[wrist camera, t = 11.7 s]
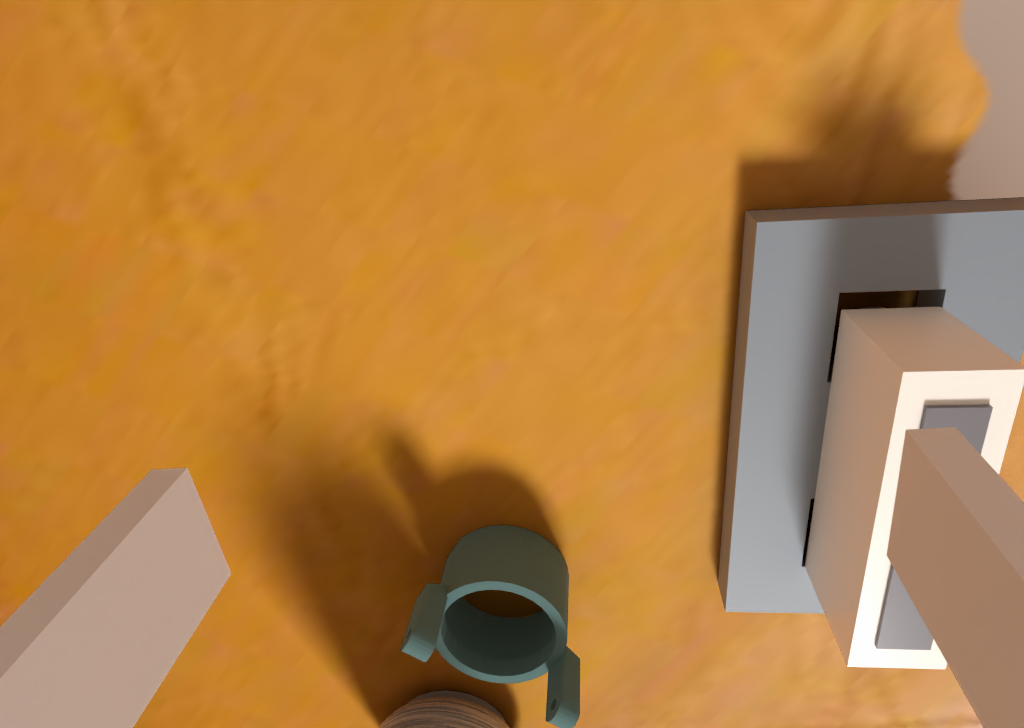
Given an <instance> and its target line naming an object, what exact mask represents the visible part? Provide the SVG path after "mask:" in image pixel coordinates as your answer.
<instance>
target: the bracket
mask: <svg viewBox="0 0 1024 728" xmlns="http://www.w3.org/2000/svg"><path fill="white" fill-rule="evenodd" d="M568 588H569V574H568V568H567V565H566V562H565V560H564V558H563V556H562V555H561V553H560V552H559V550H558V549H557V548H556V547H555V546H554V545H553V544H552V543H551V542H550V541H548V540H547V539H546V538H544V537H543V536H541V535H539V534H537V533H535V532H533V531H530V530H527V529H525V528H521V527H516V526H509V525H495V526H487V527H483V528H479V529H477V530H474V531H472V532H470V533H468V534H466V535H465V536H464V537H462V538H461V539H460V540H459V541H458V543H457V544H456V546H455V547H454V549H453V550H452V551H451V553H450V554H449V556H448V557H447V561H446V564H445V568H444V572H443V575H442V579H441V583H440V584H433V583H428V584H427V585H426V586H425V588H424V589H423V591H422V592H421V593H420V595H419V596H418V598H417V599H416V601H415V604H414V607H413V611H412V614H411V617H410V620H409V624H408V627H407V630H406V634H405V637H404V640H403V643H402V647H401V650H400V651H402V652H404V653H407V654H409V655H411V656H413V657H415V658H417V659H419V660H421V661H423V662H426V661H427V660H428V659H429V658H430V656H431V655H432V653H433V651H434V649H435V648H436V650H437V651H438V652H439V653H440V654H441V656H442V657H443V658H444V659H445V660H446V661H447V662H448V663H449V664H451V665H452V666H453V667H455V668H456V669H457V670H459V671H461V672H463V673H464V674H466V675H469V676H471V677H474V678H476V679H480V680H483V681H487V682H494V683H519V682H524V681H528V680H532V679H534V678H537V677H539V676H541V675H543V674H545V673H546V672H548V689H547V707H546V721H547V722H549V723H551V724H554V725H556V726H558V727H560V728H573V727H574V726H575V724H576V722H577V721H578V718H579V715H580V659H579V657H578V656H577V655H575V654H574V653H573V652H572V651H571V650H570V649H569V648H568V647H567V646H566V644H567V626H568ZM482 590H502V591H508V592H513V593H516V594H519V595H522V596H524V597H526V598H528V599H530V600H532V601H533V602H535V603H536V604H537V605H539V606H540V607H541V608H542V609H543V611H541V612H538V613H536V614H534V615H530V616H526V617H518V618H505V617H499V616H494V615H491V614H488V613H485V612H482V611H480V610H478V609H476V608H475V607H473V606H472V605H470V604H469V603H468V602H467V601H465V600H464V599H463V598H462V596H464V595H467V594H469V593H473V592H476V591H482Z"/></svg>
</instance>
